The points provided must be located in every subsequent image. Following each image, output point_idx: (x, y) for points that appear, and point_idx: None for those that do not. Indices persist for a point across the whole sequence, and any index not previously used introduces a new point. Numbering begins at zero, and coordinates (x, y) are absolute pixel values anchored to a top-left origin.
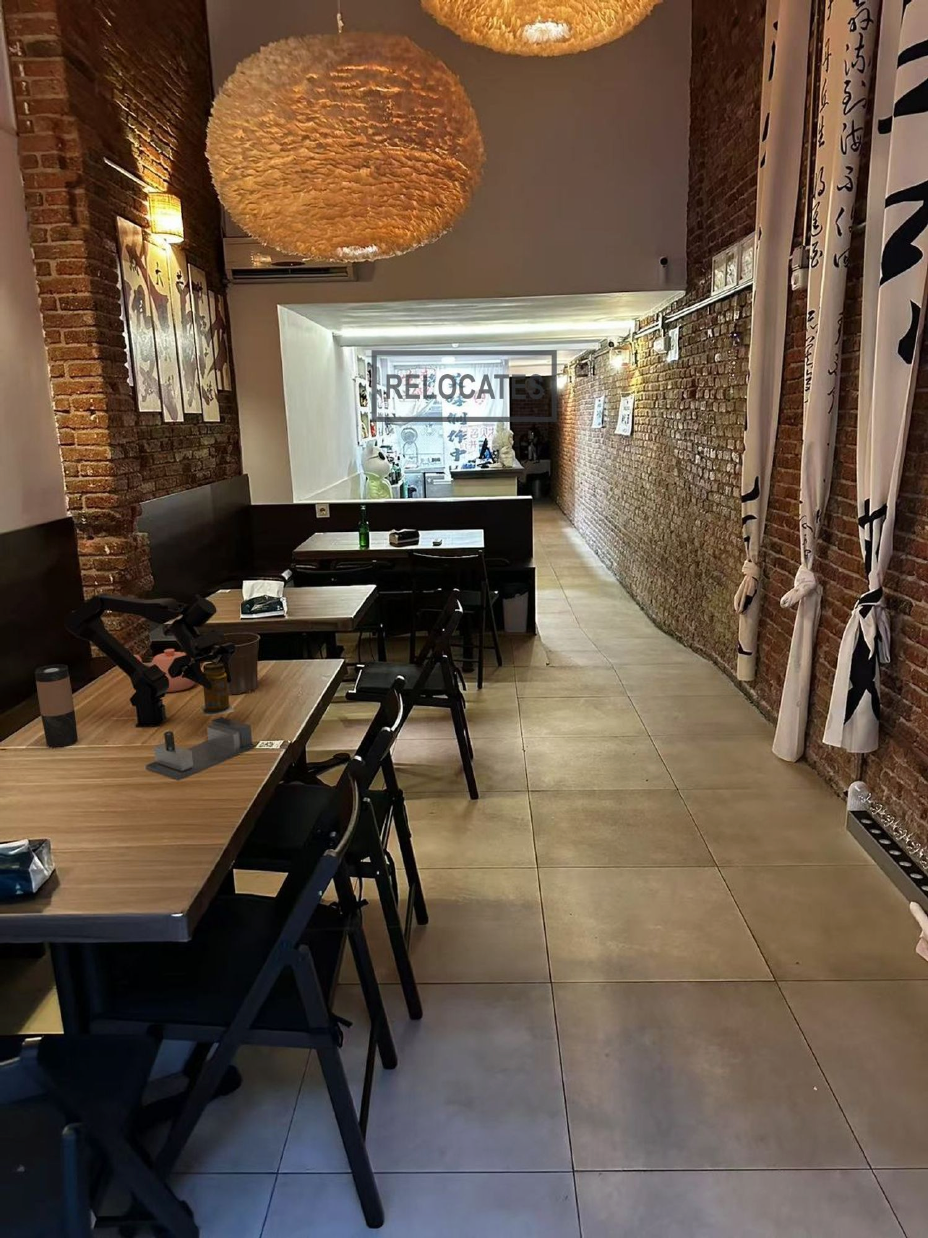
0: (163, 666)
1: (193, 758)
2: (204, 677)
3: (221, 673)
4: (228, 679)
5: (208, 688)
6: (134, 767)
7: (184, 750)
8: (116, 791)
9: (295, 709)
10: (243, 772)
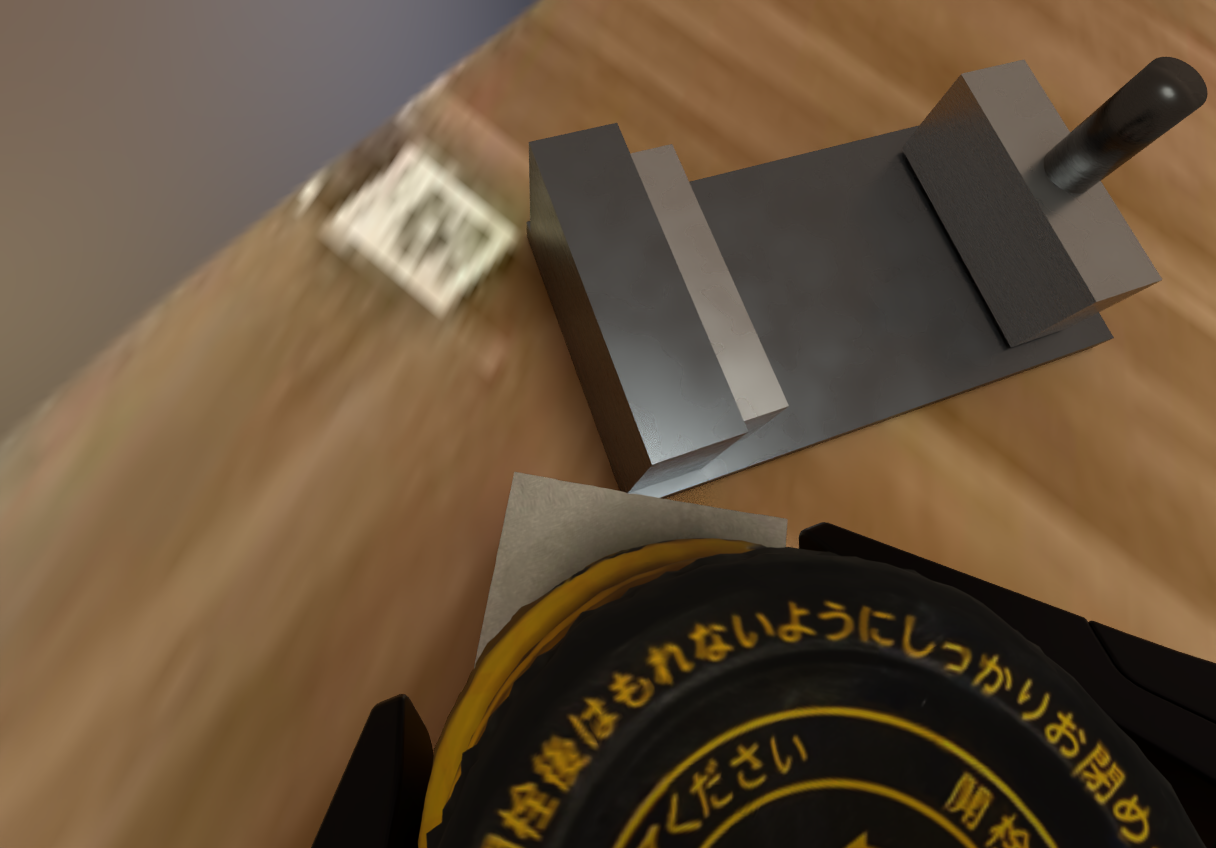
0: None
1: (878, 254)
2: (1021, 627)
3: (623, 582)
4: (412, 751)
5: None
6: (1148, 415)
7: (997, 99)
8: (1210, 198)
9: None
10: (690, 16)
